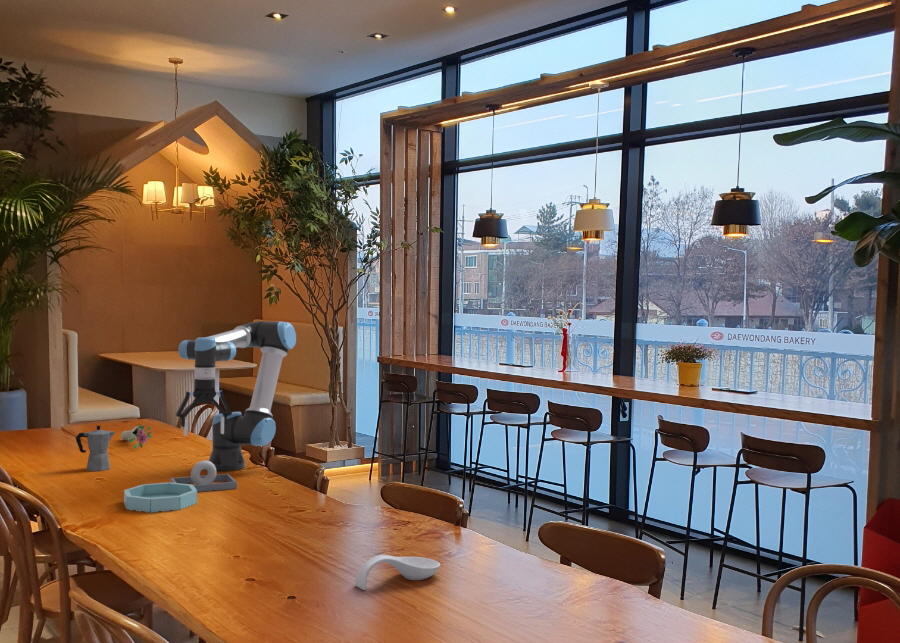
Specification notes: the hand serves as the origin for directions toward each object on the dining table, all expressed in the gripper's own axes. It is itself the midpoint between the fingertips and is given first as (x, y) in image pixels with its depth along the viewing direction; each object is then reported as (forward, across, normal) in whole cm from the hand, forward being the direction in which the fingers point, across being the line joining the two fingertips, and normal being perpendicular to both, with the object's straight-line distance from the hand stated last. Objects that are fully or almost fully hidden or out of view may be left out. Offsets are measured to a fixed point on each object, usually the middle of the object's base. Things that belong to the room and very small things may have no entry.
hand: (203, 434), depth 313 cm
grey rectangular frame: (+20, 0, 0) cm, 20 cm away
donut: (+20, 0, 0) cm, 20 cm away
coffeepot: (+20, -35, +47) cm, 62 cm away
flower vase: (+20, -14, +97) cm, 100 cm away
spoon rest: (+21, +28, -124) cm, 129 cm away
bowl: (+20, -18, -20) cm, 33 cm away
